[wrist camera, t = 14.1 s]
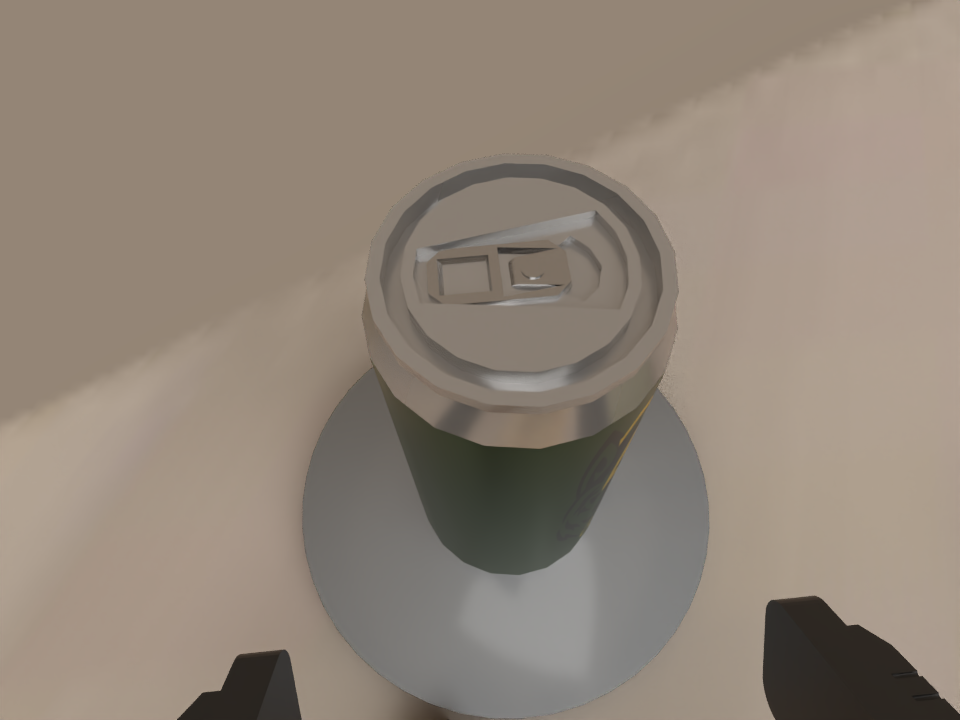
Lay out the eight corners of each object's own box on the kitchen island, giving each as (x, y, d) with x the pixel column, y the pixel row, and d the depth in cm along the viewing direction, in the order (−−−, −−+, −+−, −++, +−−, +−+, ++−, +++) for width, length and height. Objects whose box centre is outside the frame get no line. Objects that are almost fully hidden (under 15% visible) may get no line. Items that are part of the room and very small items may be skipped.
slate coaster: (575, 283, 26) (577, 271, 25) (787, 589, 20) (797, 584, 19) (260, 416, 23) (253, 406, 22) (397, 812, 17) (393, 816, 17)
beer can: (429, 588, 19) (348, 441, 9) (420, 424, 22) (350, 157, 11) (606, 570, 19) (737, 404, 9) (577, 409, 22) (651, 131, 11)
